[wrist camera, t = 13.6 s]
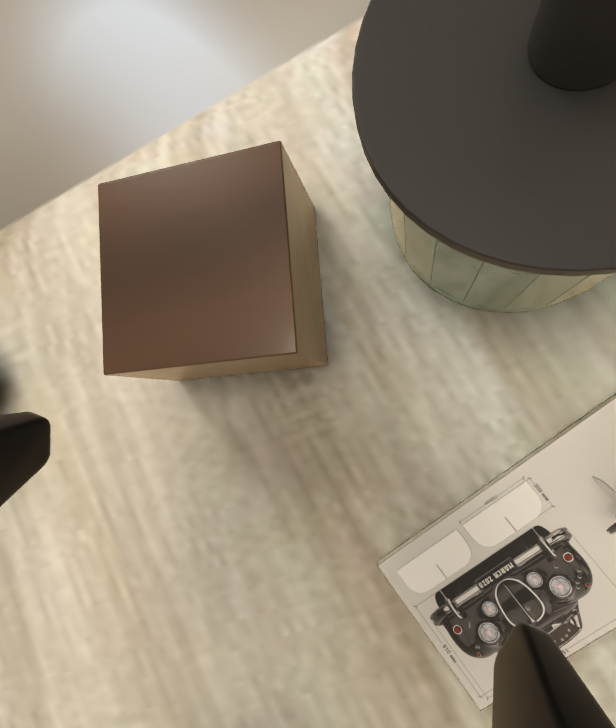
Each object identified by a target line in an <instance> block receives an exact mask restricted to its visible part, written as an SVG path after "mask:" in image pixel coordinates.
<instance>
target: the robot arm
mask: <svg viewBox="0 0 616 728" xmlns="http://www.w3.org/2000/svg"><path fill="white" fill-rule="evenodd" d="M49 456H50V423H49V421H48V420H47V419H46V418H44V417H42V416H39V415H37V414H35V413H31V412H21V413H13V414H5V415H0V506H1V505H2V504H4V503H5V502H6V501H7V500H8V499H9V498H10V497H11V496H12V495H13V494H14V493H15V492H16V491H17V490H18V489H20V488H21V487H22V486H23V485H24V484H25V483H26V482H27V481H28V480H29V479H30V478H31V477H32V476H33V475H34V474H36V473H37V472H38V471H39V470H40V469H41V468H42V467H43V466H44V465H45V463H46V462H47V460H48V459H49ZM492 728H615V727H614V725H613V724H612V722H611V721H610V720H609V718H608V717H607V715H606V714H605V712H604V711H603V710H602V708H601V707H600V705H599V704H598V702H597V701H596V700H595V698H594V697H593V695H592V694H591V693H590V691H589V690H588V688H587V687H586V685H585V684H584V683H583V681H582V680H581V678H580V677H579V675H578V674H577V673H576V671H575V670H574V668H573V667H572V665H571V664H570V663H569V661H568V660H567V658H566V657H565V656H564V654H563V653H562V651H561V650H560V648H559V647H558V646H557V644H556V643H555V641H554V640H553V638H552V637H551V636H550V635H549V634H548V633H547V632H545V631H543V630H541V629H539V628H536V627H534V626H532V625H529V624H527V623H524V622H519V623H517V624H516V625H515V626H514V628H513V629H512V631H511V633H510V634H509V636H508V637H507V639H506V641H505V642H504V644H503V645H502V647H501V649H500V650H499V652H498V654H497V656H496V659H495V663H494V673H493V717H492Z"/></svg>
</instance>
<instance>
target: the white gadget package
mask: <svg viewBox="0 0 616 728" xmlns="http://www.w3.org/2000/svg"><path fill="white" fill-rule="evenodd" d="M377 566H378V568H379V569H380V571H381V572H382V573H383V575H384V576H385V578H386V579H387V580H388V582H389V583H390V585H391V586H392V587H393V589H394V590H395V592H396V593H397V594H398V596H399V597H400V599H401V600H402V601H403V603H404V604H405V606H406V607H407V608H408V610H409V611H410V613H411V614H412V615H413V617H414V618H415V620H416V621H417V622H418V624H419V625H420V627H421V628H422V629H423V631H424V632H425V634H426V635H427V636H428V638H429V639H430V641H431V642H432V643H433V645H434V646H435V648H436V649H437V651H438V652H439V653H440V655H441V656H442V658H443V659H444V660H445V662H446V663H447V665H448V666H449V667H450V669H451V670H452V672H453V673H454V674H455V676H456V677H457V679H458V680H459V681H460V683H461V684H462V686H463V687H464V688H465V690H466V691H467V693H468V694H469V695H470V697H471V698H472V700H473V701H474V702H475V704H476V705H477V707H478V708H479V709H480V711H481V710H483V709H484V708H486V707H488V706H489V705H491V704H492V703H493V673H494V663H495V659H496V656H497V654H498V652H499V650H500V649H501V647H502V645H503V644H504V642H505V641H506V639H507V637H508V636H509V634H510V633H511V631H512V629H513V628H514V626H515V625H516V624H517V623H519V622H524V623H527V624H529V625H532V626H534V627H536V628H539V629H541V630H543V631H545V632H547V633H548V634H549V635H550V636H551V637H552V638H553V640H554V641H555V643H556V644H557V646H558V647H559V648H560V650H561V651H562V653H563V654H564V656H565V657H566V658H567V657H569V656H571V655H572V654H574V653H575V652H577V651H579V650H580V649H582V648H584V647H585V646H587V645H588V644H590V643H592V642H593V641H595V640H597V639H598V638H600V637H601V636H603V635H605V634H606V633H608V632H610V631H611V630H613V629H614V628H616V394H615V395H614V396H612V397H611V398H609V399H608V400H607V401H605V402H604V403H602V404H601V405H599V406H598V407H597V408H595V409H594V410H592V411H591V412H590V413H588V414H587V415H585V416H584V417H582V418H581V419H580V420H578V421H577V422H575V423H574V424H572V425H571V426H570V427H568V428H567V429H565V430H564V431H563V432H561V433H560V434H558V435H557V436H555V437H554V438H553V439H551V440H550V441H548V442H547V443H546V444H544V445H543V446H541V447H540V448H538V449H537V450H536V451H534V452H533V453H531V454H530V455H528V456H527V457H526V458H524V459H523V460H521V461H520V462H519V463H517V464H516V465H514V466H513V467H511V468H510V469H509V470H507V471H506V472H504V473H503V474H502V475H500V476H499V477H497V478H496V479H494V480H493V481H492V482H490V483H489V484H487V485H486V486H485V487H483V488H482V489H480V490H479V491H477V492H476V493H475V494H473V495H472V496H470V497H469V498H467V499H466V500H465V501H463V502H462V503H460V504H459V505H458V506H456V507H455V508H453V509H452V510H450V511H449V512H448V513H446V514H445V515H443V516H442V517H441V518H439V519H438V520H436V521H435V522H433V523H432V524H431V525H429V526H428V527H426V528H425V529H423V530H422V531H421V532H419V533H418V534H416V535H415V536H414V537H412V538H411V539H409V540H408V541H406V542H405V543H404V544H402V545H401V546H399V547H398V548H397V549H395V550H394V551H392V552H391V553H389V554H388V555H387V556H385V557H384V558H382V559H381V560H380V561H378V563H377Z"/></svg>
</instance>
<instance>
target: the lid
mask: <svg viewBox="0 0 616 728" xmlns="http://www.w3.org/2000/svg"><path fill="white" fill-rule="evenodd" d="M352 98H353V105H354V112H355V118H356V124H357V129H358V133H359V136H360V140H361V143H362V146H363V150H364V153H365V156H366V158H367V160H368V162H369V164H370V166H371V168H372V170H373V172H374V175H375V177H376V178H377V180H378V181H379V183H380V184H381V186H382V187H383V189H384V190H385V192H386V193H387V195H388V196H389V197H390V199H391V200H392V201H393V202H394V203H395V204H396V205H397V206H398V207H399V208H400V210H401V211H402V212H403V213H404V214H405V215H406V216H407V217H408V218H409V219H410V220H412V221H413V222H414V223H415V224H416V225H418V226H419V227H420V228H421V229H423V230H424V231H425V232H426V233H427V234H429V235H431V236H432V237H434V238H435V239H437V240H439V241H440V242H442V243H444V244H445V245H447V246H448V247H450V248H452V249H454V250H456V251H459V252H461V253H463V254H465V255H467V256H470V257H472V258H474V259H476V260H479V261H482V262H486V263H489V264H492V265H496V266H499V267H502V268H506V269H510V270H516V271H522V272H527V273H533V274H539V275H558V276H586V275H602V274H611V273H616V0H371V1H370V4H369V6H368V9H367V11H366V14H365V16H364V19H363V21H362V25H361V29H360V32H359V36H358V40H357V44H356V48H355V56H354V63H353V71H352Z"/></svg>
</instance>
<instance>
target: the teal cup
mask: <svg viewBox="0 0 616 728" xmlns="http://www.w3.org/2000/svg"><path fill="white" fill-rule="evenodd" d="M389 200H390V208H391V217H392V225H393V228H394V231H395V235H396V238H397V241H398V244H399V247H400V249H401V251H402V253H403V255H404V257H405V259H406V261H407V262H408V264H409V265H410V266H411V268H412V269H413V271H414V272H415V273H416V274H417V275H418V276H419V277H420V278H421V279H422V280H423V281H424V282H425V283H426V284H427V285H428V286H430V287H431V288H432V289H433V290H435V291H436V292H438V293H439V294H441V295H443V296H444V297H446V298H448V299H450V300H452V301H454V302H457V303H459V304H461V305H464V306H468V307H471V308H474V309H478V310H484V311H490V312H505V313H512V312H526V311H531V310H536V309H542V308H545V307H548V306H552V305H555V304H558V303H561V302H563V301H565V300H567V299H569V298H572V297H574V296H576V295H577V294H579V293H582V292H585V291H586V290H588V289H590V288H591V287H593V286H595V285H596V284H598V283H600V282H601V281H603V280H604V279H606V278H608V277H609V276H611V275H612V274H614V273H611V274H602V275H586V276H558V275H539V274H533V273H527V272H522V271H516V270H510V269H506V268H502V267H499V266H496V265H492V264H489V263H486V262H482V261H479V260H476V259H474V258H472V257H470V256H467V255H465V254H463V253H461V252H459V251H456V250H454V249H452V248H450V247H448V246H447V245H445V244H444V243H442V242H440V241H439V240H437V239H435V238H434V237H432V236H431V235H429V234H427V233H426V232H425V231H424V230H423V229H421V228H420V227H419V226H418V225H416V224H415V223H414V222H413V221H412V220H410V219H409V218H408V217H407V216H406V215H405V214H404V213H403V212H402V211H401V210H400V208H399V207H398V206H397V205H396V204H395V203H394V202H393V201H392V200H391V199H390V197H389Z"/></svg>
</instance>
